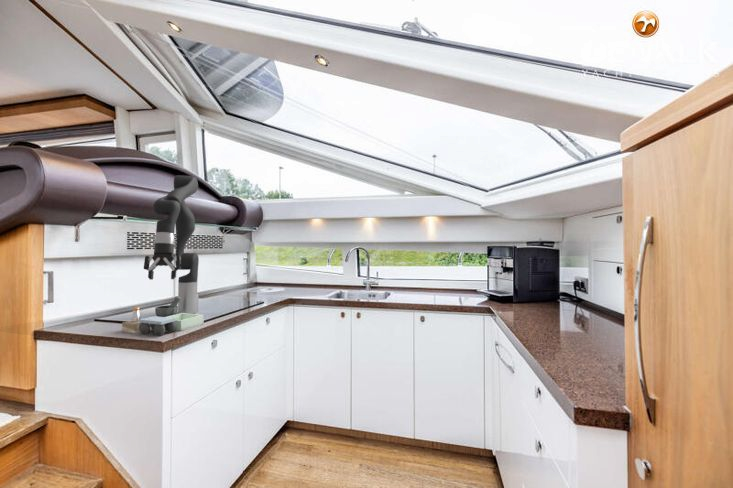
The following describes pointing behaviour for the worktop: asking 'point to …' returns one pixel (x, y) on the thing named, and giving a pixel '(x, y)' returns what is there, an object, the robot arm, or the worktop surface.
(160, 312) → the mortar and pestle
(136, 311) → the stop pin
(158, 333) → the trolley
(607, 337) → the worktop surface
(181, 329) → the tray
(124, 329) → the stop block
